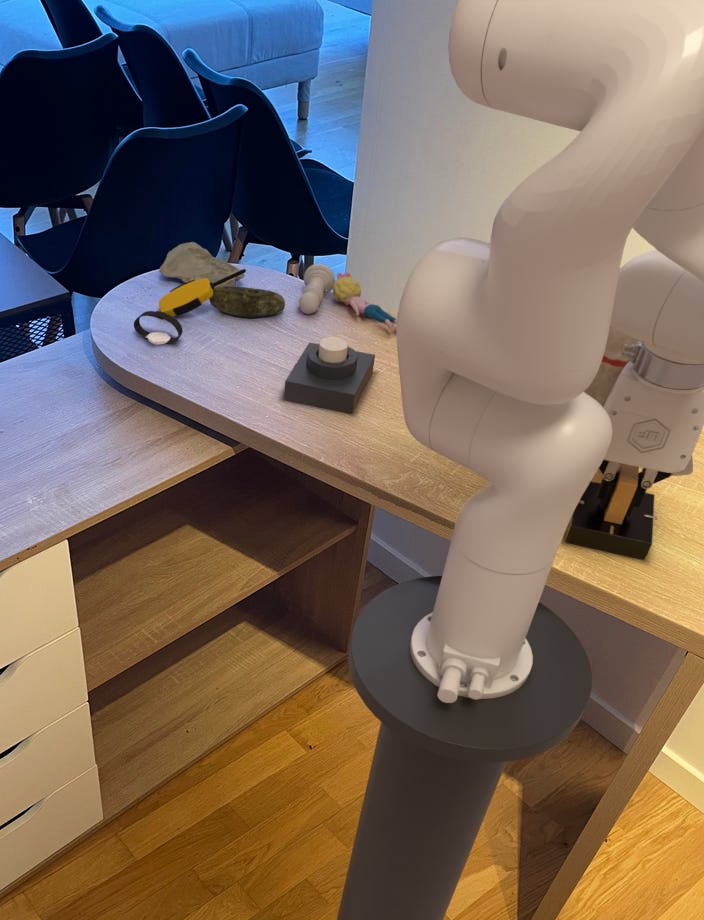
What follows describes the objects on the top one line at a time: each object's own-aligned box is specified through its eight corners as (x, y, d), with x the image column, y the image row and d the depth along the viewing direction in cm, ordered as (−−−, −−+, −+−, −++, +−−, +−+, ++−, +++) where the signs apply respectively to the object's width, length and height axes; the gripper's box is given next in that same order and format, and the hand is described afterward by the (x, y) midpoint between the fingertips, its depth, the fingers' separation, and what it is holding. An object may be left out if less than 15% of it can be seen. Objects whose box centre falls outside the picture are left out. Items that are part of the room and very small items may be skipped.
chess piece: (339, 290, 150) (326, 320, 145) (309, 295, 152) (295, 324, 147) (331, 260, 146) (317, 289, 141) (300, 265, 149) (286, 295, 143)
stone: (254, 267, 151) (214, 293, 147) (254, 283, 153) (214, 309, 149) (188, 237, 157) (148, 261, 153) (189, 253, 159) (150, 276, 155)
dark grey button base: (352, 414, 125) (356, 381, 122) (283, 400, 127) (285, 367, 124) (372, 373, 133) (377, 341, 129) (307, 360, 135) (310, 329, 132)
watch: (142, 328, 141) (132, 344, 140) (137, 304, 137) (126, 319, 136) (186, 339, 139) (176, 354, 138) (182, 313, 135) (172, 329, 134)
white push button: (342, 366, 125) (344, 352, 124) (314, 361, 126) (316, 347, 125) (349, 353, 128) (351, 339, 126) (322, 348, 129) (323, 334, 127)
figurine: (405, 337, 143) (346, 297, 152) (415, 310, 141) (354, 271, 149) (379, 339, 140) (320, 298, 148) (388, 311, 137) (328, 271, 145)
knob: (621, 524, 105) (638, 484, 101) (603, 520, 105) (619, 480, 101) (623, 498, 108) (640, 457, 104) (606, 494, 109) (622, 454, 105)
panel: (647, 561, 104) (655, 543, 102) (561, 541, 106) (568, 523, 104) (650, 511, 111) (658, 493, 109) (569, 494, 113) (575, 476, 111)
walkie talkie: (165, 324, 144) (251, 286, 140) (160, 316, 143) (246, 277, 138) (162, 303, 146) (246, 264, 142) (156, 295, 145) (241, 255, 140)
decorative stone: (279, 304, 148) (281, 280, 145) (286, 317, 145) (288, 293, 142) (208, 309, 146) (208, 285, 144) (213, 323, 143) (213, 298, 140)
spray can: (569, 414, 126) (617, 272, 112) (626, 435, 122) (683, 292, 108) (543, 439, 121) (589, 295, 107) (601, 462, 118) (656, 317, 104)
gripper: (591, 366, 93) (542, 509, 106) (757, 396, 89) (686, 540, 102) (596, 333, 97) (549, 474, 111) (754, 360, 94) (686, 503, 107)
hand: (615, 505), depth 106 cm, fingers closed on knob, 2 cm apart
